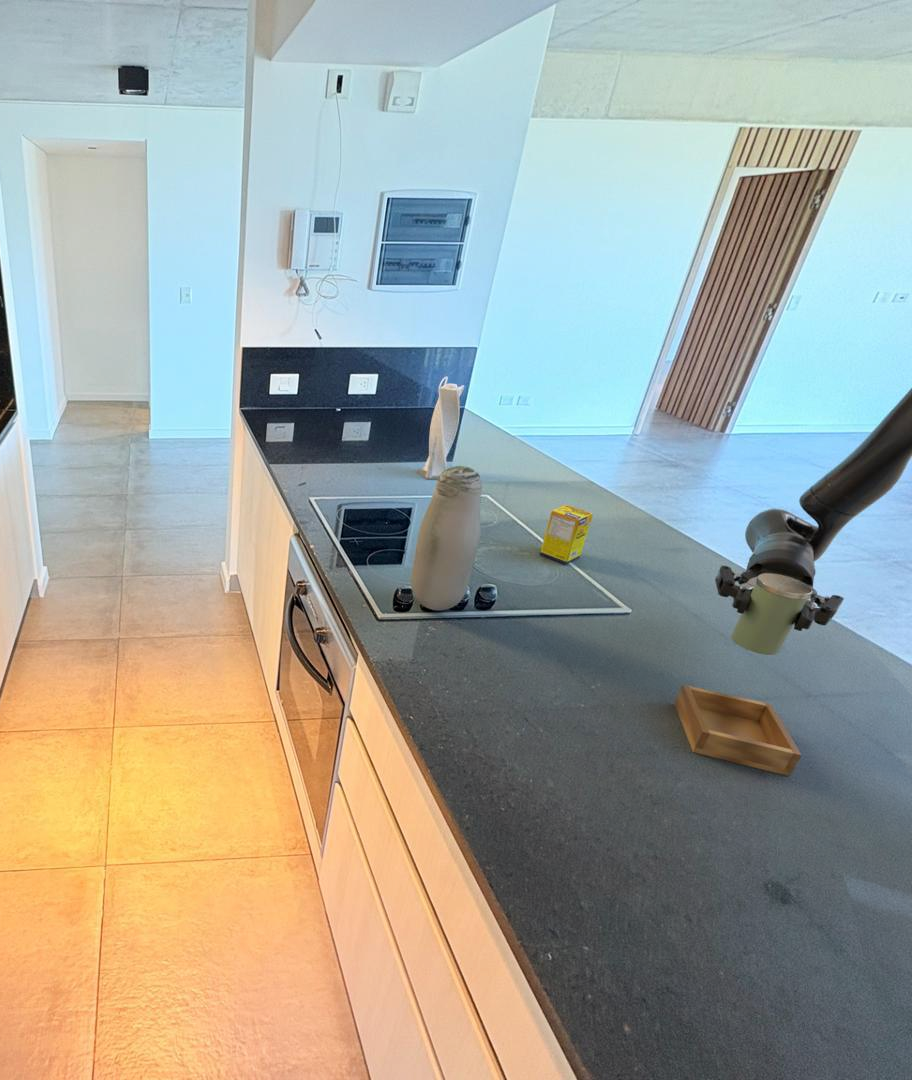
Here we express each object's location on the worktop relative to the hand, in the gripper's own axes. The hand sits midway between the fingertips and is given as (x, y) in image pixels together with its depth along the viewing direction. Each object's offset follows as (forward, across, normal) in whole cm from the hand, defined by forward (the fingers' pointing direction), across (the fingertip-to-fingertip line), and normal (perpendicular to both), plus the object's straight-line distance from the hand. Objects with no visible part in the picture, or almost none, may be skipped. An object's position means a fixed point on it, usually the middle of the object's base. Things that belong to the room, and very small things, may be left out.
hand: (770, 615), depth 83 cm
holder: (+5, -1, -18) cm, 19 cm away
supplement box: (-38, +33, -18) cm, 53 cm away
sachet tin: (-3, 0, -6) cm, 7 cm away
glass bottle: (0, +44, -18) cm, 48 cm away
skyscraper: (-69, +75, -18) cm, 103 cm away
